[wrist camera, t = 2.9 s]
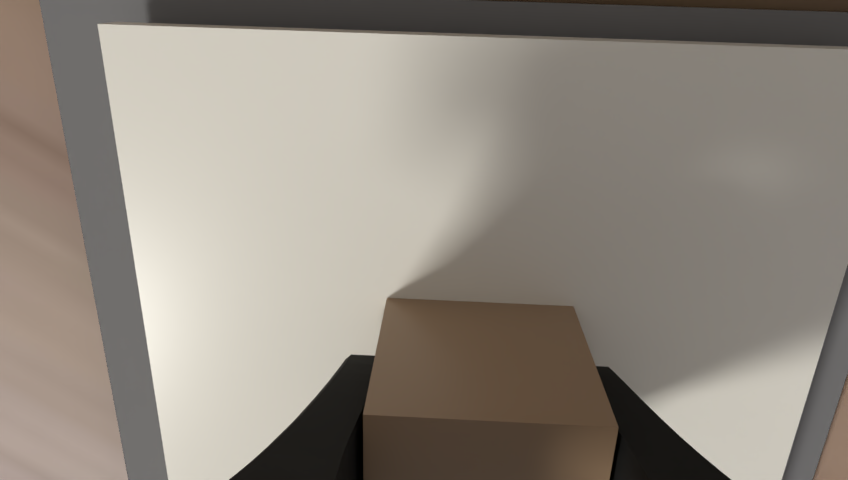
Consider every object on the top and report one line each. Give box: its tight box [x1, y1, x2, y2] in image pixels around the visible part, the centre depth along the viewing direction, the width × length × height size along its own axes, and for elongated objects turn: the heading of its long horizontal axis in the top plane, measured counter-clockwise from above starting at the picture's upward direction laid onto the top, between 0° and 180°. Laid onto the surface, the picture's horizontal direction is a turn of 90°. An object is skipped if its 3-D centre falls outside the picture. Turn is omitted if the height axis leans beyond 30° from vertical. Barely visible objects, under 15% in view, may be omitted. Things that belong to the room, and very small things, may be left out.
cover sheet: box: [97, 22, 848, 480], centre depth 11 cm, size 13×13×4 cm
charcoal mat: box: [39, 0, 848, 480], centre depth 14 cm, size 16×14×1 cm
